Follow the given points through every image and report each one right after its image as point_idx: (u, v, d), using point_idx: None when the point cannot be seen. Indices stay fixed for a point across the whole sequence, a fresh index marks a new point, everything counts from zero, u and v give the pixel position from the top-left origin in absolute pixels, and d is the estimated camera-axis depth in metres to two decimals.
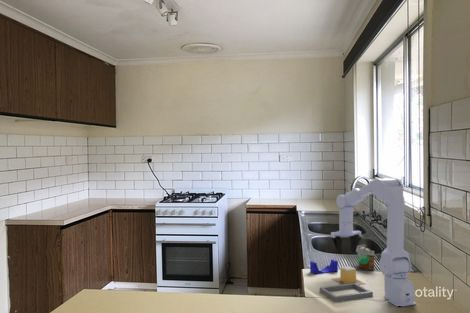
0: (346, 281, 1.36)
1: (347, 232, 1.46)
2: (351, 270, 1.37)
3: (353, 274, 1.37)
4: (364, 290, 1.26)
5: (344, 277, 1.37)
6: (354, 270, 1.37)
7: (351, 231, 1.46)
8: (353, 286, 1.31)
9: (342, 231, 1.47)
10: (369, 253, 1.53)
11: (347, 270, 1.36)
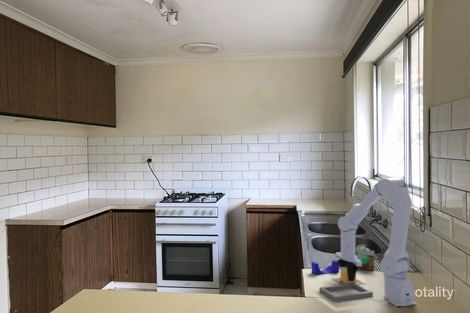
0: (346, 281, 1.36)
1: (340, 255, 1.39)
2: None
3: None
4: (364, 290, 1.26)
5: (344, 277, 1.37)
6: None
7: (343, 255, 1.37)
8: (353, 286, 1.31)
9: None
10: (369, 253, 1.53)
11: None
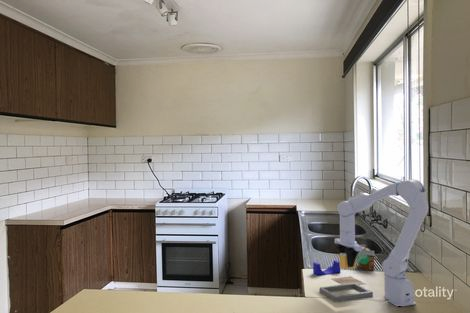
0: (345, 267, 1.32)
1: (339, 240, 1.35)
2: None
3: None
4: (364, 290, 1.26)
5: (343, 263, 1.33)
6: None
7: (342, 241, 1.33)
8: (353, 286, 1.31)
9: None
10: (369, 253, 1.53)
11: (346, 256, 1.32)
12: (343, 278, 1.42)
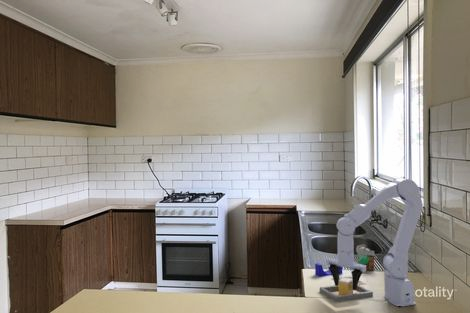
0: None
1: (339, 262, 1.24)
2: (350, 282, 1.24)
3: (352, 286, 1.25)
4: (364, 290, 1.26)
5: (345, 291, 1.23)
6: (352, 281, 1.25)
7: (344, 262, 1.23)
8: None
9: (337, 260, 1.26)
10: (369, 253, 1.53)
11: (348, 283, 1.23)
12: None
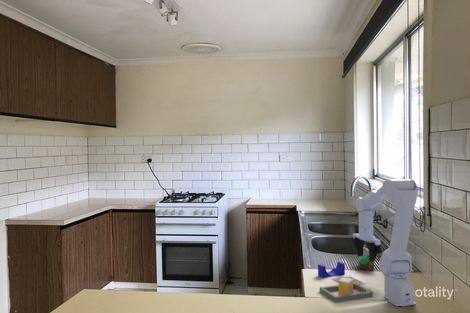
0: None
1: (358, 235, 1.43)
2: (350, 282, 1.24)
3: (352, 286, 1.25)
4: (364, 290, 1.26)
5: (345, 291, 1.23)
6: (352, 281, 1.25)
7: (361, 235, 1.41)
8: (353, 286, 1.31)
9: None
10: None
11: (348, 283, 1.23)
12: None
